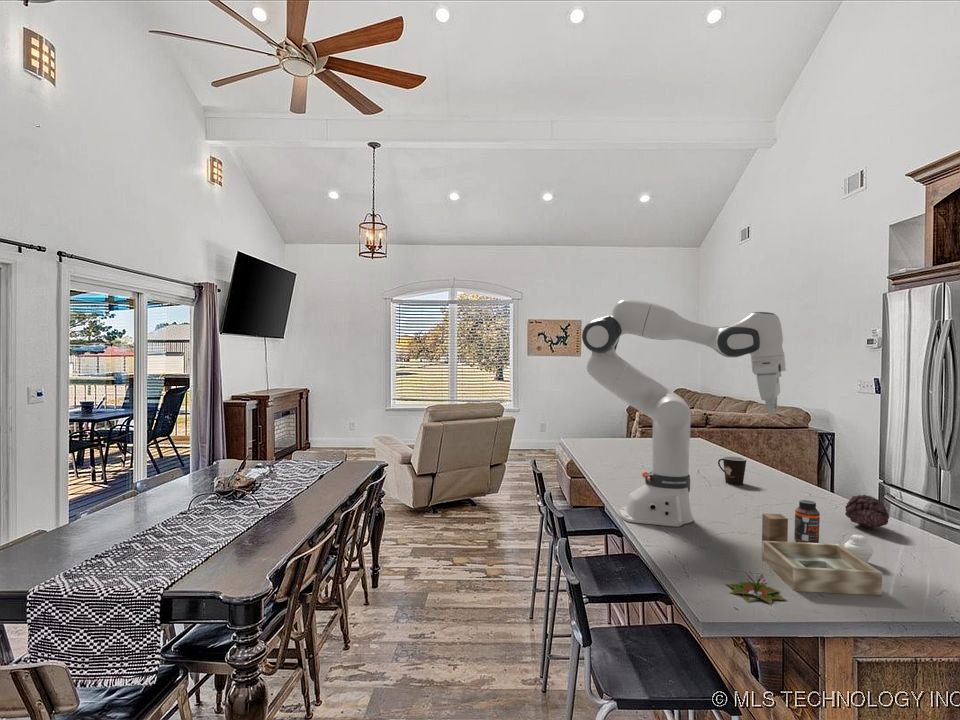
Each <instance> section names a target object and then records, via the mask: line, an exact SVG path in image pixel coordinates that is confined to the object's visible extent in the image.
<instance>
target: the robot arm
mask: <svg viewBox="0 0 960 720" xmlns="http://www.w3.org/2000/svg"><path fill="white" fill-rule="evenodd" d="M623 335H634V336H638V337H641V338H645V339H651V340H658V341H669V340H670V341H672V340H681V341H686V342H692V343H696V344H699V345H703V346H706V347H709V348H712V349H713V350H714V351H715V352H716V353H718V354H720V355H721V356H723V357H725V358H741V357H743V356H745V355H750V361H751V371H752V374H754V375H756V382H757V386H758V387H757V388H758V391H759V393H758V394H759V397H760V400H761V401H765V407H766V413H767V415H768V416H773V415H775V411H777V410H778V396H779V395H780V393H781V384H780V383H781V382H780V378H781V377H782V372H785V371H787V370H786V359H785V356H786V355H785V351H784V349H783V343H784V342H783V341H784V336H783V328H782V322H781V320H780V318H779V316H778V315H777V314H775V313H773V312H767V311H754V312H751V313H749V314H748V316H746V317H744V318H743V319H741V320H739V321H738V322H736V323H733V324H731V325H728V326H727V325H726V326H720V327H717V326H710V325H706V324H703V323H699V322H695V321H691V320H689V319H686V318H684V316H683V317H682V316H681V315H679V313H677V312H676V311H674V310H672V309H671V308H668V307H665V306H663V305H660V304H657V303H653V302H649V301H644V300H636V299H621V300H619V301H617V302H616V304H615V305H614V307H613V308H612V311H611V314H610V315H607V316H603V317H598V318H594V319H592V320H591V321H589V322H587V324H585V326H584V328H583V330H582V334H581V339H582V340H581V341H582V342H583V344H584V347H585V348H587V350H589V351H591V356H590V357H589V358H588V361H587V362H586V363H587V365H586V371H587V373H588V375H590V376H591V378H592V379H594V381H596V382H597V383H598V384H599V385H600V386H602V387H603V388H604V389H606V390H607V391H608V392H610V393H611V394H613V395H614V396H616V397H617V398H618V399H620V400H621V401H623V402H624V403H625V404H627V405H628V406H631V407H632V408H633V409H635V410H637V411H639V412H640V413H642V414H644V415H645V416H647V417H649V418H650V419H652V440H651V441H652V443H651V471H649V472H648V471H647V470H644V471H642V472H641V476H642V478H644V482H645V483H644V484H642V485H640V486H639V487H638V488H636V489H634V490H633V491H631V492H630V494H628V497H627V500H626V506H623V507H620V509H619V511H618V515H619V516H620V518H621V519H622V520H624V521H626V522H629V523H634V524H647V525H654V526H657V525H658V526H667V527H675V528H676V527H677V528H678V527H682V526H683V525H686V524H690V523H692V522H694V516H693V511H692V508H691V507H692V506H691V499H690V492H691V475H690V474H689V469H690V468H689V467H690V466H689V465H690V463H689V461H690V443H691V442H690V441H691V437H690V436H691V423H692V422H691V419H692V418H691V417H692V414H691V413H692V412H691V408H690V407H689V405H688V403H687V402H686V401H685V399H684V398H682V396H680V395H678V394H676V392H674V391H672V390H671V389H669V388H668V387H666V386H664V385H663V384H661V383H660V382H658V381H657V380H655V379H654V378H652V377H650V376H649V375H648V374H646V373H644V372H643V371H641V370H640V369H638V368H637V367H635V366H634V365H632V364H630V363H629V362H627V361H626V360H625V359H623V358H622V357H620V356H619V354H618V353H617V352H616V350H617V347H618V344H619V340H620V337H621V336H623Z"/></svg>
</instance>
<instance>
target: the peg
mask: <svg viewBox="0 0 960 720" xmlns="http://www.w3.org/2000/svg"><path fill="white" fill-rule="evenodd" d="M761 515H762V517H761V519H762V520H761V524H762V525H761V542H762V541H780V542H789V541H788V540H789V539H788V537H789V535H788V534H789V533H788V528H789V527H788V526H789V522H788V521H789V518H787V517H785V516H784V515H782V514H781V513H764V512H763V513H762V514H761Z"/></svg>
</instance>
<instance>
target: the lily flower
mask: <svg viewBox="0 0 960 720" xmlns="http://www.w3.org/2000/svg"><path fill="white" fill-rule="evenodd" d="M749 572H750V574H751V576H752V577H751V576H750V575H749V574H748V572H745V577H748V578H749V579H748V578H746V579H745V580H746V581H739V583H730V584H729V583H726V584H725V585H726V586H728V587H730V588H732V591H731V592H730V593H729V594H731V595H732V594H742V596H743V598H744V599H745V600H746V602H747V603H749V602H750V603H751V602H755V601H759V600H761V599H762V600H763V601H765V602H766V603H768V604H769V605H771V606H772V605H773V602H772V601H773V600H781V601H787V602H788V600H787V599H786V598H784V597H783V596H782V595H780V594H777V593H778V592H781V590H778V589H776V588H773V587H771V586H768V585H767V584H768V582H766V579H764V576H763V574H761V575H760V576H758V577H757V578H756V579H754V576H753V573H752V571H751V570H750V571H749ZM756 575H758V572H757V573H756ZM762 579H764V580H763V581H762ZM750 580H751V581H750ZM761 581H762V582H761ZM751 591H754V592H753V593H754V594H753V593H750V592H751ZM758 592H759V593H761V594H760V595H757V594H758ZM749 596H753V597H756V598H751V599H750V597H749Z"/></svg>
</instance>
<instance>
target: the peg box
mask: <svg viewBox="0 0 960 720" xmlns="http://www.w3.org/2000/svg"><path fill="white" fill-rule="evenodd" d="M761 561H762V562H763V563H764V564H765V565H766V566H767V567H769V569H771V570H772V572H773V573H775V574H776V575H777V576H778V577H779V578H780V579H781V580H782V581H784V583H785V584H787V585H788V586H789V587H790V588H791V589H792V590H793V591H794V592H805V593H807V592H809V593H811V592H812V593H828V594H829V593H830V594H846V595H847V594H848V595H866V596H867V595H868V596H869V595H870V596H883V572H882V571H880V570H879V569H878V568H876V567H874V566H872V565H871V564H869V563H868V562H865V561H864V560H862V559H860V558H859V557H857V556H856V555H854V554H853V553H851V552H850V551H848V550H846V549H845V548H844V546H842V545H840V544H839V543H828V542H827V543H824V542H821V543H820V542H819V543H804V542H797V541H788V542H780V541H762V540H761Z"/></svg>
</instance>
